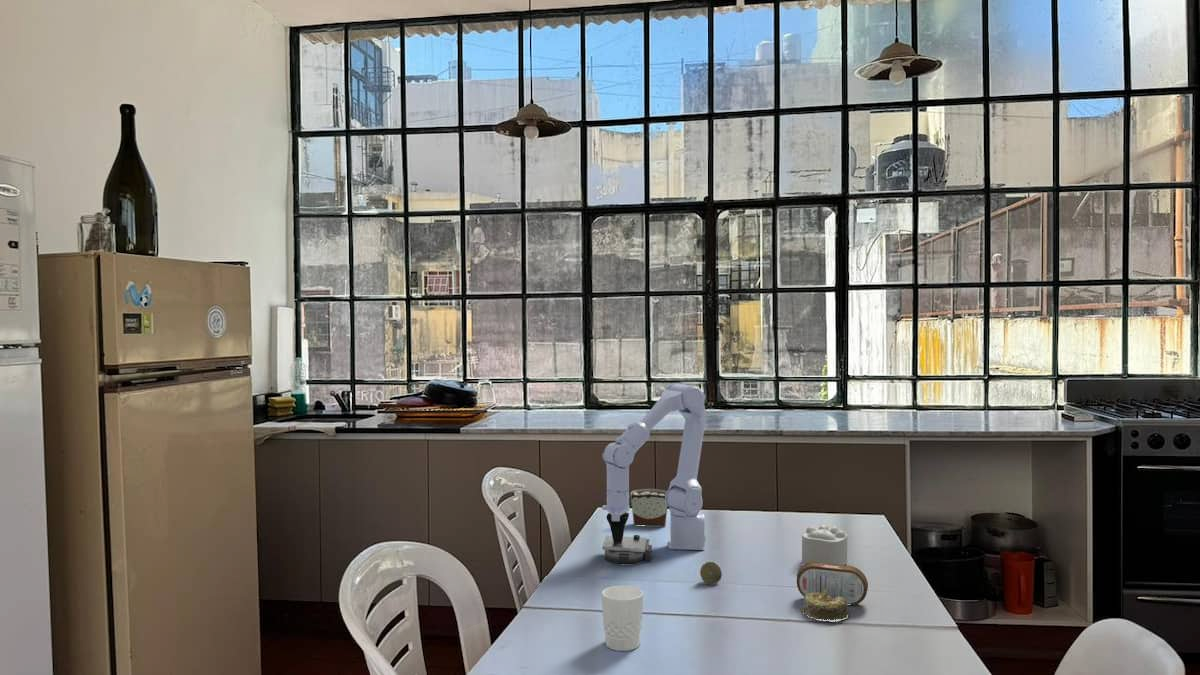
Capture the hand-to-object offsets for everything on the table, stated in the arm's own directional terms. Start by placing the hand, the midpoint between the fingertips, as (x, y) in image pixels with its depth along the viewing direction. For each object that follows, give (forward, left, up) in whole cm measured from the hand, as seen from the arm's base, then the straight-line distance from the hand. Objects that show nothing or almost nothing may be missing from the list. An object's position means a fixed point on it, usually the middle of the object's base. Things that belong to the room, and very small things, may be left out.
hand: (617, 541), depth 204 cm
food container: (-7, -34, -4) cm, 35 cm away
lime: (-23, +17, -4) cm, 29 cm away
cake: (-47, +33, -5) cm, 57 cm away
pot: (-2, 0, -4) cm, 5 cm away
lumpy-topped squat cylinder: (-53, -2, -4) cm, 53 cm away
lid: (-2, 0, -1) cm, 2 cm away
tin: (-49, +27, -4) cm, 56 cm away
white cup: (-5, +53, -4) cm, 53 cm away
